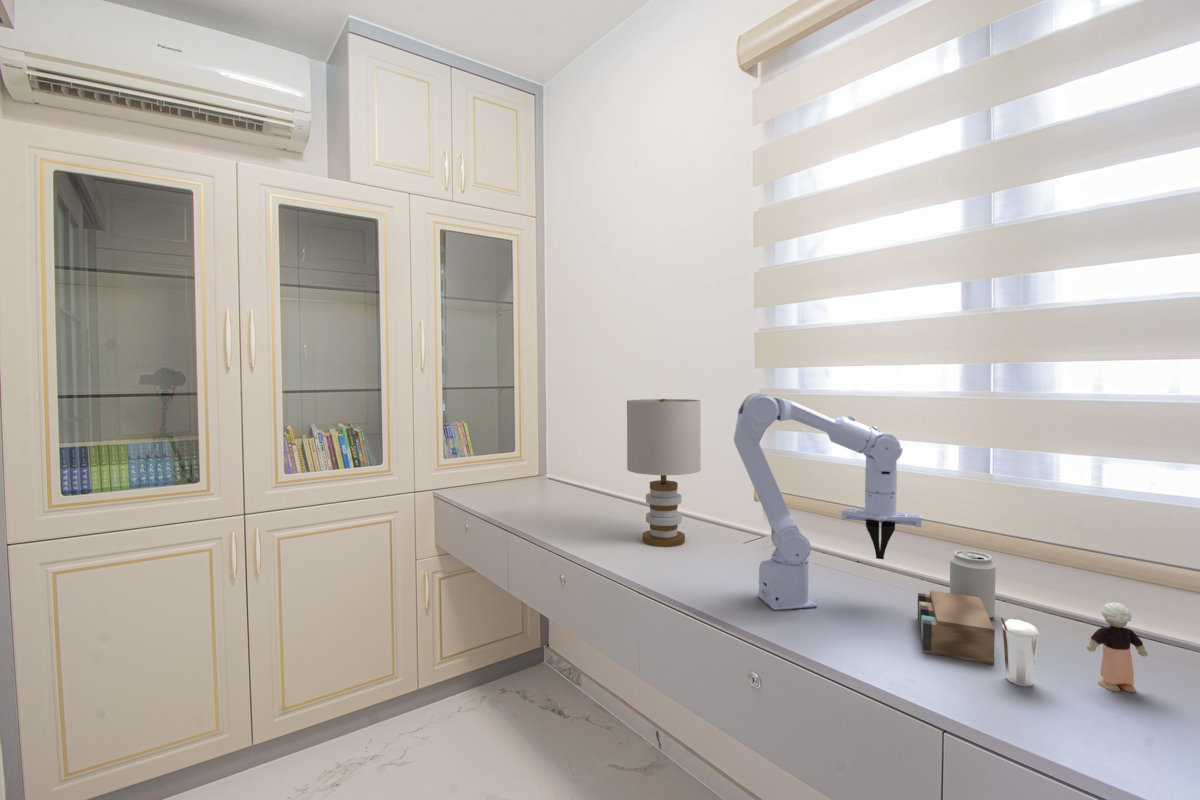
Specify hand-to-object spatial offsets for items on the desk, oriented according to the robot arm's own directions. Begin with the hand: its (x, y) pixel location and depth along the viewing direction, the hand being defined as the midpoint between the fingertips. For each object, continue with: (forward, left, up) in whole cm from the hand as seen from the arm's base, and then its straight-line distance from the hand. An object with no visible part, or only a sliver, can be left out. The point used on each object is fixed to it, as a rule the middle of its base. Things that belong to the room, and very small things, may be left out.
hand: (879, 557), depth 116 cm
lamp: (-31, +53, -10) cm, 62 cm away
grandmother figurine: (+15, -34, -10) cm, 38 cm away
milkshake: (+2, -30, -10) cm, 32 cm away
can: (+15, -7, -10) cm, 19 cm away
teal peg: (+1, -19, -9) cm, 21 cm away
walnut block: (+3, -16, -10) cm, 19 cm away
